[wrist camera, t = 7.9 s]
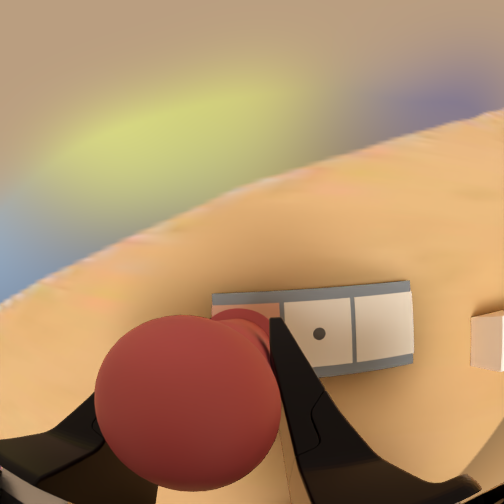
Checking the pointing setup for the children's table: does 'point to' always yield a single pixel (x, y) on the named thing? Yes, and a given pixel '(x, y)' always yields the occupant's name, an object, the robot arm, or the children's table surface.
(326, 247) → the children's table surface
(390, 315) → the board
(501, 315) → the die
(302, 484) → the robot arm
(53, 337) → the children's table surface
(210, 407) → the pawn
